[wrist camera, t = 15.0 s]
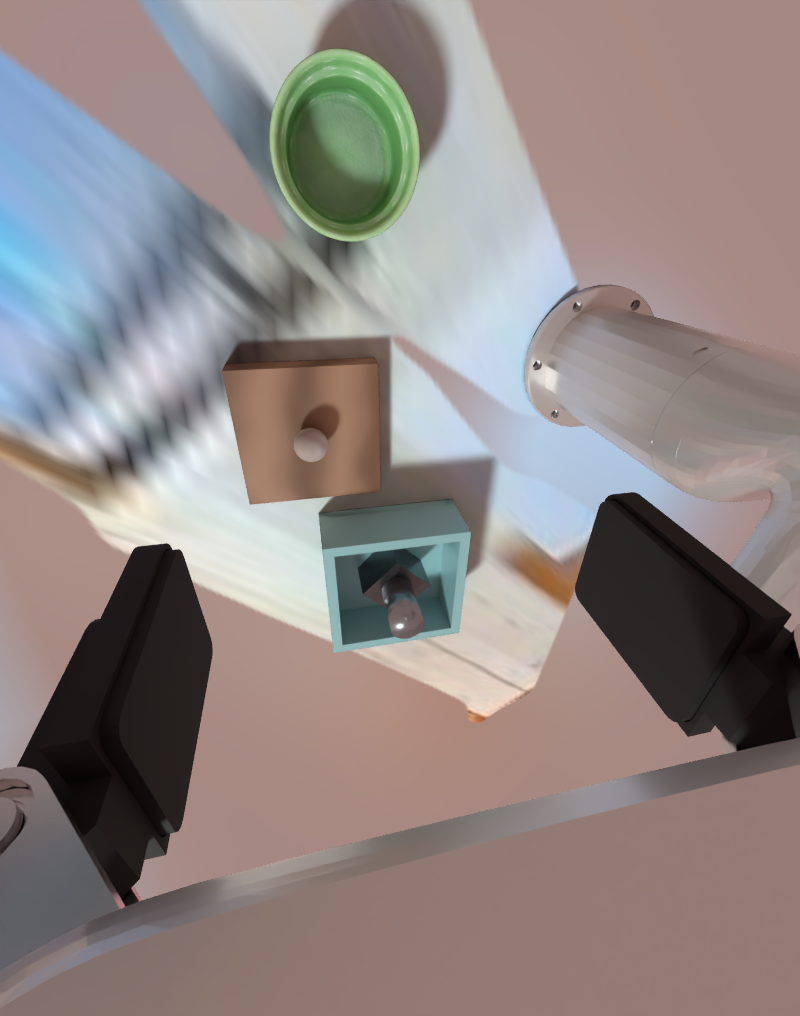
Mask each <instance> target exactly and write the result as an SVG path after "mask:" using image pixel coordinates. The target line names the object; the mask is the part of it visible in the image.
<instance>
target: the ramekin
mask: <svg viewBox="0 0 800 1016" xmlns="http://www.w3.org/2000/svg"><path fill="white" fill-rule="evenodd" d="M270 152H271V159H272V164H273V168H274V172H275V175H276V178H277V181H278V184H279V186H280V188H281V190H282V192H283V194H284V196H285V198H286V200H287V201H288V203H289V204H290V206H291V207H292V208H293V210H294V211H295V212H296V214H297V215H298V216H299V217H300V218H301V219H302V220H303V221H304V222H305V223H306V224H308V225H309V226H310V227H312V228H313V229H314V230H316V231H318V232H319V233H321V234H323V235H325V236H327V237H330V238H333V239H337V240H341V241H362V240H366V239H370V238H373V237H375V236H377V235H379V234H381V233H382V232H384V231H386V230H387V229H388V228H389V227H390V226H392V225H393V224H394V223H395V222H396V221H397V219H398V218H399V217H400V216H401V214H402V213H403V212H404V210H405V208H406V207H407V205H408V203H409V201H410V199H411V197H412V194H413V192H414V189H415V186H416V182H417V177H418V173H419V165H420V143H419V134H418V129H417V124H416V120H415V117H414V114H413V111H412V108H411V106H410V103H409V101H408V99H407V97H406V95H405V93H404V91H403V90H402V88H401V87H400V85H399V84H398V82H397V81H396V80H395V78H394V77H393V76H392V75H391V74H390V73H389V72H388V71H387V70H386V69H385V68H384V67H383V66H382V65H380V64H379V63H378V62H376V61H375V60H373V59H372V58H370V57H368V56H367V55H364V54H362V53H359V52H357V51H354V50H349V49H342V48H334V49H326V50H322V51H319V52H316V53H314V54H312V55H310V56H308V57H307V58H305V59H304V60H303V61H301V62H300V63H299V64H298V65H297V66H296V67H295V68H294V69H293V70H292V71H291V73H290V74H289V75H288V77H287V78H286V80H285V81H284V83H283V85H282V87H281V89H280V91H279V93H278V96H277V98H276V101H275V104H274V108H273V111H272V116H271V123H270Z"/></svg>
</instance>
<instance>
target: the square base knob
mask: <svg viewBox="0 0 800 1016" xmlns="http://www.w3.org/2000/svg"><path fill="white" fill-rule="evenodd" d="M358 573H359V578H360V583H361V589H362V594H363V595H364V596H366V597H368V598H369V599H371V600H373V601H375V602H376V603H378V604H380V605H382V606H383V607H385V609H386V613H387V617H388V621H389V625H390V629H391V633H392V634H393V635H394V636H395V637H397V638H400V639H407V638H411V637H414V636H416V635H418V634H419V633H420V632H421V631H422V630H423V628H424V619H423V616H422V614H421V611H420V608H419V605H418V602H417V599H416V597H417V596H419V595H420V594H421V593H422V592H423V591H424V590H426V589H427V588H428V587H429V586H430V583H429V580H428V577H427V575H426V572H425V570H424V567H423V564H422V562H421V560H420V559H419V558H418V557H416V556H415V555H413V554H412V553H410V552H409V551H407V550H406V549H405V548H403V549H395V550H387V551H378V552H374V553H373V554H372V555H371V556H369V557H368V558H367V559H366V560H365V561H364V562H363V563H362V564H361V565H360V566H359V567H358Z"/></svg>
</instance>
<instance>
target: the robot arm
mask: <svg viewBox="0 0 800 1016" xmlns="http://www.w3.org/2000/svg"><path fill="white" fill-rule="evenodd" d="M573 305H574V307H573ZM534 362H535V364H534ZM533 364H534V365H533ZM524 383H525V389H526V393H527V395H528V398H529V401H530V402H531V404H532V405H533V407H534V408H535V410H536V411H537V412H539V413H540V414H541V415H542V416H543V417H544V418H546V419H547V420H549V421H550V422H552V423H555V424H558V425H560V426H567V427H578V426H585V425H586V426H588V427H589V428H591V429H592V430H594V431H595V432H596V433H598V434H599V435H601V436H602V437H604V438H605V439H606V440H608V441H609V442H611V443H612V444H614V445H615V446H617V447H618V448H619V449H621V450H622V451H624V452H625V453H627V454H628V455H629V456H631V457H632V458H634V459H635V460H637V461H638V462H640V463H641V464H642V465H644V466H645V467H647V468H648V469H650V470H651V471H653V472H654V473H656V474H657V475H659V476H660V477H662V478H663V479H665V480H666V481H667V482H669V483H670V484H672V485H673V486H675V487H676V488H678V489H680V490H681V491H683V492H685V493H687V494H689V495H692V496H694V497H697V498H701V499H705V500H710V501H717V502H742V501H753V500H762V499H768V498H771V502H770V504H769V507H768V509H767V511H766V512H765V514H764V515H763V517H762V519H761V520H760V522H759V523H758V525H757V526H756V528H755V532H754V533H753V534H752V535H751V537H750V538H749V540H748V541H747V543H746V544H745V545H744V547H743V548H742V550H741V551H740V552H739V554H738V555H737V557H736V558H735V560H734V561H733V562H732V564H731V565H729V564H727V563H726V562H725V561H723V560H722V559H721V558H720V557H718V556H717V555H716V554H715V553H713V552H712V551H711V550H709V549H708V548H707V547H706V546H704V545H703V544H702V543H700V542H699V541H698V540H697V539H695V538H694V537H693V536H692V535H690V534H689V533H688V532H686V531H685V530H684V529H683V528H681V527H680V526H679V525H678V524H676V523H675V522H674V521H672V520H671V519H670V518H669V517H667V516H666V515H665V514H663V513H662V512H661V511H660V510H658V509H657V508H656V507H654V506H653V505H652V504H651V503H649V502H648V501H647V500H645V499H644V498H643V497H642V496H641V495H639V494H637V493H633V492H631V493H621V494H613V495H610V496H608V497H607V498H606V499H605V502H602V503H601V504H600V506H599V509H598V512H597V516H596V519H595V522H594V526H593V529H592V532H591V535H590V539H589V542H588V545H587V549H586V552H585V555H584V559H583V562H582V565H581V568H580V572H579V575H578V578H577V582H576V585H575V592H576V596H577V598H578V600H579V601H580V603H581V604H582V605H583V606H584V608H585V609H586V611H587V612H588V613H589V614H590V616H591V617H592V618H593V620H594V621H595V622H596V624H597V625H598V626H599V628H600V629H601V630H602V632H603V633H604V634H605V636H606V637H607V638H608V639H609V641H610V642H611V643H612V645H613V646H614V647H615V649H616V650H617V651H618V653H619V654H620V655H621V656H622V658H623V659H624V660H625V662H626V663H627V664H628V666H629V667H630V668H631V670H632V671H633V672H634V674H636V676H637V677H638V679H639V680H640V682H641V683H642V684H643V685H644V687H645V688H646V689H647V691H648V692H649V693H650V695H651V696H652V697H653V699H654V700H655V701H656V703H657V704H658V705H659V706H660V708H661V709H662V710H663V712H664V713H665V714H666V715H667V717H668V718H669V719H671V720H672V721H674V722H677V723H678V724H679V726H680V727H681V728H682V730H683V731H684V732H685V733H686V735H687V736H688V737H689V736H694V735H698V734H702V733H706V732H710V731H711V730H712V729H713V727H714V726H716V727H717V728H718V729H719V730H720V732H721V733H722V742H723V755H719V756H715V757H711V758H707V759H702V760H698V761H693V762H689V763H685V764H680V765H676V766H672V767H668V768H663V769H659V770H655V771H650V772H646V773H642V774H638V775H633V776H629V777H625V778H621V779H617V780H612V781H608V782H604V783H600V784H596V785H591V786H587V787H583V788H578V789H575V790H570V791H566V792H562V793H557V794H553V795H549V796H545V797H541V798H537V799H532V800H528V801H524V802H520V803H516V804H511V805H507V806H503V807H499V808H495V809H491V810H486V811H482V812H478V813H474V814H470V815H466V816H462V817H457V818H453V819H449V820H445V821H441V822H437V823H433V824H429V825H425V826H421V827H417V828H412V829H408V830H404V831H400V832H396V833H392V834H388V835H383V836H379V837H375V838H371V839H367V840H363V841H359V842H355V843H351V844H347V845H343V846H338V847H334V848H330V849H326V850H322V851H318V852H314V853H310V854H306V855H302V856H299V857H295V858H291V859H287V860H283V861H279V862H276V863H272V864H269V865H264V866H260V867H257V868H253V869H249V870H245V871H241V872H238V873H234V874H230V875H227V876H222V877H219V878H215V879H212V880H207V881H204V882H200V883H197V884H193V885H190V886H187V887H184V888H181V889H178V890H174V891H171V892H168V893H165V894H162V895H159V896H155V897H152V898H149V899H146V900H143V901H142V900H141V898H140V896H139V895H138V893H137V891H136V890H135V888H134V884H135V883H136V882H137V881H138V880H139V879H140V876H141V871H142V867H143V863H144V860H145V859H150V858H154V857H159V856H163V855H166V853H167V848H168V842H169V837H170V833H173V832H177V831H179V829H180V827H181V825H182V821H183V817H184V811H185V805H186V800H187V794H188V788H189V783H190V777H191V771H192V766H193V761H194V755H195V750H196V744H197V738H198V733H199V727H200V722H201V716H202V710H203V705H204V699H205V693H206V688H207V683H208V677H209V671H210V665H211V659H212V641H211V638H210V634H209V631H208V629H207V625H206V622H205V619H204V616H203V614H202V610H201V607H200V604H199V601H198V598H197V595H196V592H195V589H194V586H193V583H192V580H191V577H190V574H189V571H188V568H187V565H186V562H185V559H184V556H183V553H182V551H181V550H179V549H178V550H172V548H171V546H170V545H169V544H158V545H149V546H140V547H136V548H135V549H134V550H133V552H132V554H131V556H130V558H129V560H128V562H127V564H126V566H125V568H124V570H123V573H122V575H121V577H120V579H119V581H118V583H117V585H116V587H115V589H114V591H113V594H112V596H111V598H110V600H109V602H108V604H107V606H106V608H105V610H104V612H103V614H102V617H101V619H97V620H94V621H93V622H91V623H90V624H89V625H88V627H87V628H86V630H85V632H84V634H83V636H82V638H81V640H80V642H79V644H78V646H77V648H76V650H75V652H74V654H73V656H72V658H71V660H70V662H69V664H68V666H67V668H66V670H65V672H64V674H63V676H62V678H61V680H60V682H59V684H58V686H57V688H56V690H55V692H54V694H53V696H52V698H51V700H50V702H49V704H48V706H47V708H46V710H45V712H44V714H43V716H42V718H41V720H40V722H39V724H38V726H37V728H36V730H35V732H34V734H33V736H32V738H31V740H30V741H29V743H28V746H27V747H26V749H25V752H24V754H23V756H22V757H21V760H20V761H19V763H18V765H17V767H13V768H4V769H1V770H0V1016H800V355H798V354H794V353H790V352H786V351H782V350H778V349H774V348H770V347H766V346H763V345H759V344H755V343H751V342H748V341H744V340H740V339H736V338H732V337H728V336H725V335H721V334H717V333H713V332H709V331H705V330H702V329H698V328H694V327H690V326H687V325H683V324H679V323H675V322H672V321H668V320H664V319H660V318H656V317H654V316H653V313H652V311H651V308H650V306H649V305H648V304H647V303H646V301H645V300H644V299H643V298H642V297H641V296H640V295H638V294H637V293H636V292H635V291H632V290H630V289H627V288H624V287H620V286H615V285H597V286H593V287H589V288H585V289H583V290H581V291H579V292H577V293H574V294H572V295H571V296H570V297H568V298H567V299H565V300H564V301H562V302H561V303H560V304H559V305H558V306H557V307H556V308H554V309H553V310H552V311H551V312H550V313H549V314H548V316H547V317H546V318H545V320H544V321H543V322H542V324H541V325H540V326H539V328H538V330H537V332H536V333H535V335H534V337H533V339H532V341H531V344H530V346H529V349H528V352H527V356H526V361H525V366H524Z"/></svg>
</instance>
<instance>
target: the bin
mask: <svg viewBox="0 0 800 1016" xmlns="http://www.w3.org/2000/svg"><path fill="white" fill-rule="evenodd" d="M319 521H320V532H321V542H322V552H323V561H324V570H325V579H326V588H327V597H328V606H329V615H330V624H331V633H332V643H333V652H334V653H336V652H343V651H349V650H355V649H362V648H368V647H374V646H380V645H387V644H393V643H399V642H405V641H411V640H418V639H424V638H430V637H436V636H442V635H449V634H455V633H459V629H460V621H461V613H462V604H463V596H464V588H465V579H466V571H467V563H468V554H469V546H470V538H471V531H470V529H469V527H468V526H467V524H466V522H465V520H464V519H463V517H462V515H461V513H460V512H459V510H458V508H457V507H456V505H455V503H454V501H453V500H452V499H449V500H439V501H429V502H420V503H410V504H401V505H391V506H382V507H372V508H362V509H353V510H343V511H334V512H324V513H319ZM403 548H405V549H406V550H407V551H409V552H410V553H412V554H413V555H415V556H416V557H418V558H419V559H420V560H421V562H422V564H423V567H424V570H425V572H426V575H427V577H428V580H429V583H430V586H429V587H428V588H427V589H426V590H424V591H423V592H422V593H421V594H420V595H419V596H417V597H416V599H417V602H418V605H419V608H420V611H421V614H422V616H423V619H424V628H423V630H422V631H421V632H420V633H419V634H418V635H416V636H414V637H411V638H407V639H400V638H397V637H395V636H394V635H393V634H392V633H391V629H390V625H389V621H388V617H387V613H386V609H385V607H383V606H382V605H380V604H378V603H376V602H375V601H373V600H371V599H369V598H368V597H366V596H364V595H363V594H362V589H361V583H360V578H359V573H358V567H359V566H360V565H361V564H362V563H363V562H364V561H365V560H366V559H367V558H368V557H369V556H371V555H372V554H373V553H374V552H378V551H387V550H395V549H403Z"/></svg>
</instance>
